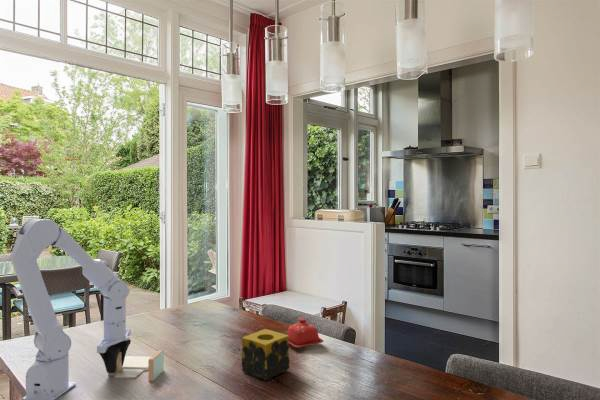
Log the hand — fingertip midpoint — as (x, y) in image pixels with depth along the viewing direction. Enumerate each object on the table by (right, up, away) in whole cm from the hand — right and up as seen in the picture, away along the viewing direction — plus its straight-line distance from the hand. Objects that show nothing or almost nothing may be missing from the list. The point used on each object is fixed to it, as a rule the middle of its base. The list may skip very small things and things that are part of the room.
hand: (114, 369), depth 116 cm
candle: (+42, -2, +3) cm, 42 cm away
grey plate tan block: (+3, -1, 0) cm, 3 cm away
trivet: (+3, -1, +7) cm, 7 cm away
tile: (+12, -1, -1) cm, 12 cm away
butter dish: (+53, -2, +26) cm, 59 cm away
